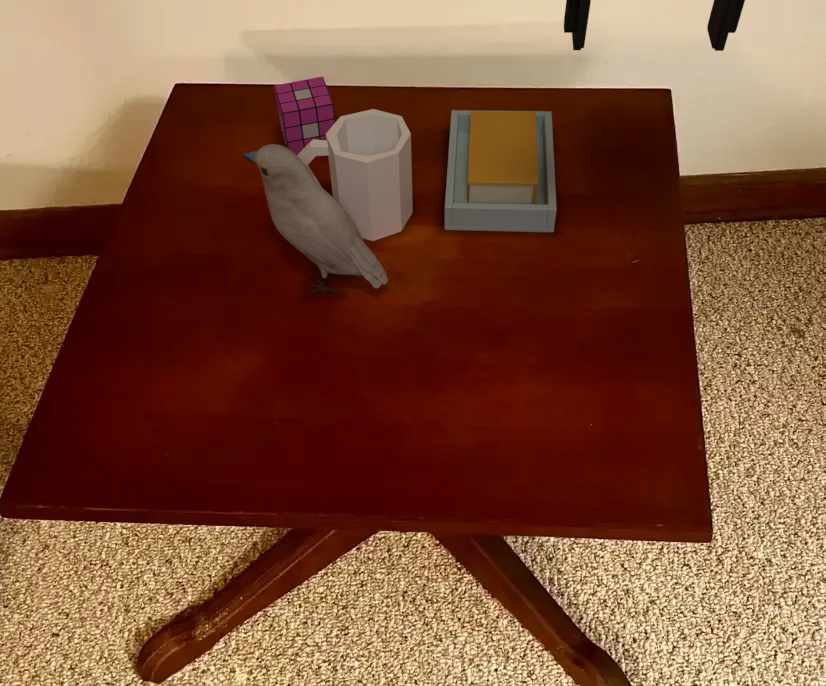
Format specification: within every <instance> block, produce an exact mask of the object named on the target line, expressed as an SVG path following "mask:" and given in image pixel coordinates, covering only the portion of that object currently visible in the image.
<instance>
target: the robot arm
mask: <svg viewBox="0 0 826 686" xmlns="http://www.w3.org/2000/svg"><path fill="white" fill-rule="evenodd" d="M745 1H746V0H713V3H712V7H711V9H710V10H711V11H710V14H709V18H708V23H707V27H706V29H707V34H708V38H709V42H710V45H711V49H714V51H715V52H718V51H719V52H722V51H723V52H724V50H725V47H726V44H727V40H728V37H729V34H735V33H736V32H737V30H738V26H739V21H740V19H741V16H742V12H743V8H744V6H745ZM591 2H592V0H565V9H564V16H563V33H564V34H567V33H568V34H571V39H572V40H571V41H572V51H582V49H585V44H586V43H585V42H586V37H587V30H588V25H589V24H588V23H589V15H590V11H591V9H590V8H591Z"/></svg>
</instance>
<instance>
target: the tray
mask: <svg viewBox="0 0 826 686" xmlns="http://www.w3.org/2000/svg"><path fill="white" fill-rule="evenodd" d="M471 111H476V110H474V109H473V110H469V109H467V110H466V109H465V110H461V109H452V110H451V112H450V125H449V126H450V127H449V139H448V140H449V141H448V153H447V154H448V155H447V168H446V169H447V170H446V184H445V198H444V226H443V227H444V231H473V232H475V231H477V232H478V231H479V232H512V233H513V232H515V233H516V232H517V233H518V232H519V233H554V232H555V224H556V218H557V207H558V206H557V190H556V170H555V152H554V149H555V148H554V131H553V113H552V111H549V110H496V111H497V112H536V129H537V159H538V190H537V198H536V204H488V203H467V192H468V166H469V143H470V121H471Z"/></svg>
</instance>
